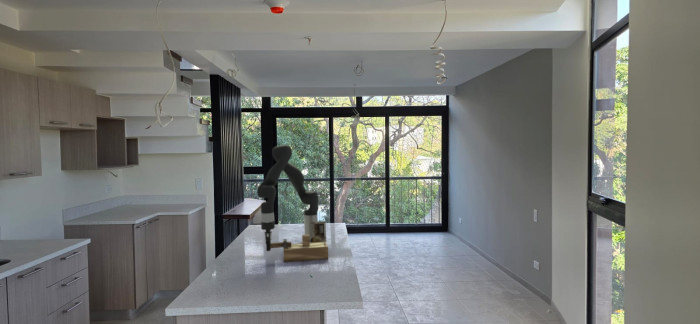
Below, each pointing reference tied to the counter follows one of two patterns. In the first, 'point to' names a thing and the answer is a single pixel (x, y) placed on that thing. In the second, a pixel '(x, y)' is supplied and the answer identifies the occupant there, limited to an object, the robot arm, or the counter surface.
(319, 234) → the coffee box
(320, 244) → the lid
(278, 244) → the brown block
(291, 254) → the wooden box
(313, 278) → the counter surface
